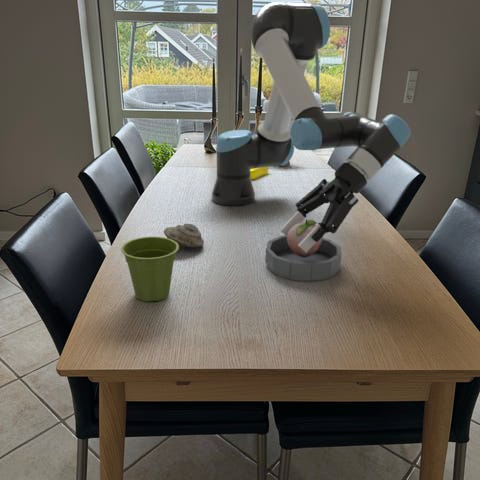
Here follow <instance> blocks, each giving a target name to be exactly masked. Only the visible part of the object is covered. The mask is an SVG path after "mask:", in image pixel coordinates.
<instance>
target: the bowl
mask: <svg viewBox="0 0 480 480" xmlns="http://www.w3.org/2000/svg"><path fill="white" fill-rule="evenodd" d="M264 261H265V264H266V265H265V266H266V268H267V269H268V270H269V272H271V273H272V274H274V275H276V276H277V277H280V278H283V279H285V280H290V281H294V282H302V283H303V282H304V283H305V282H306V283H311V282H321V281H325V280H329V279H331V278H333V277H335V276H336V275H337V274H338V273H339V272H340V269H341V262H342V247H341V246H340V245H338V244H337V243H336V242H334V241H333V240H331V239H329V238H325V237H323V239H322V242H321V245H320V247H319V248H318V249H317V250H316V252H315V253H314V254H312V255H311V256H309V257H306V258H303V257H300V256H298V255H296V254H295V253H294V252H293V251H292V250H291V249H290V247H289V245H288V243H287V236H286V235H285V234H284V235H279V236H276V237H275V238H273V239H270V240H269V241H267V245H266V248H265V258H264Z"/></svg>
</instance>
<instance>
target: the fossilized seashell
mask: <svg viewBox="0 0 480 480" xmlns="http://www.w3.org/2000/svg"><path fill="white" fill-rule="evenodd" d="M163 233H164V235H165V238H169V239H172V240H173V241H175V242H177V243H178V245H179V247H180V246H181V247H186V248H199V247H203V246H204V243H205V241H204V239H203V237H202V233H201V231H200V229H199V228H198V227H197V226H196V225H194V224H193V223H184V224H178V225H176V226H170V227H166V228H165V229H164V230H163Z"/></svg>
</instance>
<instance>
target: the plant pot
mask: <svg viewBox="0 0 480 480" xmlns="http://www.w3.org/2000/svg"><path fill="white" fill-rule="evenodd" d="M179 248H180V245H178V243H177V242H175V241H173V240H172V239H169V238H167V237H162V236H141V237H138V238H133V239H131V240H128V241H125V243H123V244H122V246H121V247H120V252H121V253H122V255H124V258H125V262H126V263H127V267H128V270H129V275H130V279H131V283H132V286H133V290H134V291H133V292H134V294H135V297H136V298H137V299H138V300H140V301H142V302H143V301H144V302H153V301H154V302H159V301H162V300H164V299H166V298H167V297H168V296H169V294H170V291H171V283H172V275H173V268H174V263H175V262H174V261H175V260H176V256H177V252H178V251H179Z"/></svg>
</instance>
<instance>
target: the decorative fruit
mask: <svg viewBox="0 0 480 480" xmlns="http://www.w3.org/2000/svg"><path fill="white" fill-rule="evenodd" d="M316 225H318V222H317V221H316V220H313V219H309V220H308V219H305V221H302V222H301V223H297V224H295V225H294V226H293V227H292V228H291V229H290V230H289V232H288V235H287V243H288V245H289V247H290V249H291V250H292V251H293V252H294V253H295V254H296V255H298V256H300V257H303V258H306V257H309V256H311V255H312V254H314V253H315V252H316V250H317V249H318V248H319V247H320V245H321V242H322V239H323V238H324V236H323V237H322V238H321V239H320V240H319V241H318V242H316V243H315V244H314V245H313V246H312V247H311V248H310V249H309V250H308V252H307V253H306V252H305V251H303V250H302V249H301V248H300V247H299V246H298V244H299V243H300V242H301V241H302V240H303V239H304V238H305V237H306V236H307V235H308V234H309V233H310V232H311V230H312V229H313V228H314V227H315V226H316Z"/></svg>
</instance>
